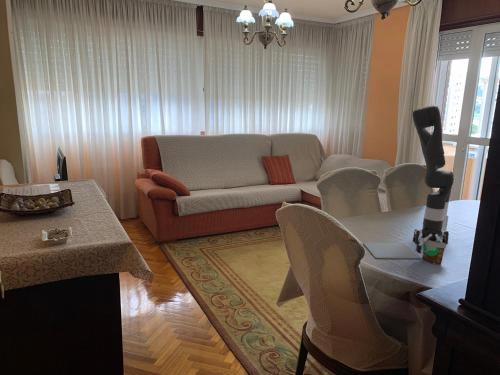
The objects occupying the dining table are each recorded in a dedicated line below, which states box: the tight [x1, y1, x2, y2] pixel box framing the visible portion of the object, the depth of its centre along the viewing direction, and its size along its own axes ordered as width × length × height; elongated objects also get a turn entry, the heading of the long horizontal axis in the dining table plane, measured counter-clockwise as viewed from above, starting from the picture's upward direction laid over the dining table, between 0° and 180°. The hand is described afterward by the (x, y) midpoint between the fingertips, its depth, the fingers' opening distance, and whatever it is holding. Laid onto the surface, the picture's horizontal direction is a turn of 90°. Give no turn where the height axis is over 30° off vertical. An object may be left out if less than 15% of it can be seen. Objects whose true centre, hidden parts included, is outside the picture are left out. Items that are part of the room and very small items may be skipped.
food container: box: [422, 238, 447, 265], centre depth 160 cm, size 12×6×10 cm, turn 5°
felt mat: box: [362, 242, 422, 260], centre depth 170 cm, size 20×17×1 cm
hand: (428, 253), depth 161 cm, fingers open, 8 cm apart
